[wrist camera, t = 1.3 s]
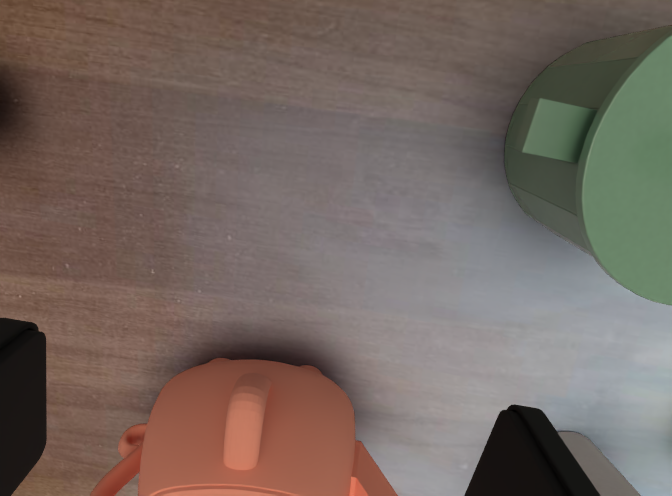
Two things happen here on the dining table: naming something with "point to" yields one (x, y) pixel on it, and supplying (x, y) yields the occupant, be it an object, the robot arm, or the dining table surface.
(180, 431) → the teapot
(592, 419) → the dining table surface
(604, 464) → the coffee cup
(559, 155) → the pot
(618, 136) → the pot lid
